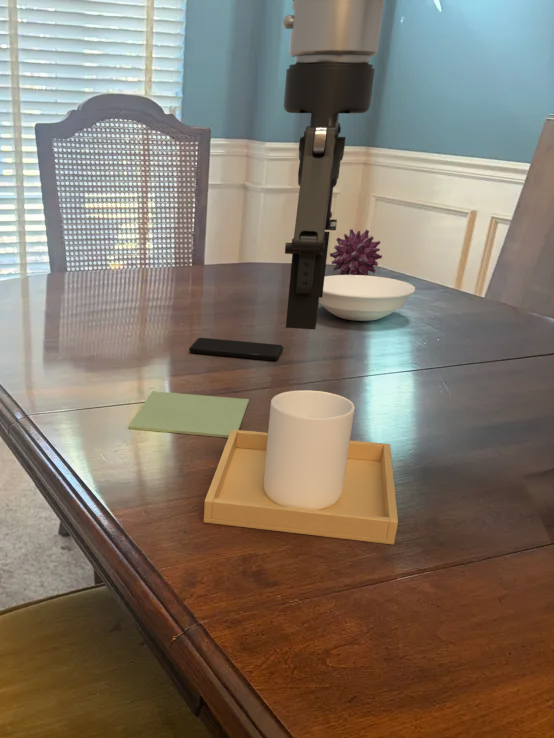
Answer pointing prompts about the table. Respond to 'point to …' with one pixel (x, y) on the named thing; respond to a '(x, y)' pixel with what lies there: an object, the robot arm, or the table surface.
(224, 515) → the tray
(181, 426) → the mat
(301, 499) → the cup
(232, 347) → the smartphone
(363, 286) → the bowl
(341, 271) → the purple spiky ball
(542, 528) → the table surface
